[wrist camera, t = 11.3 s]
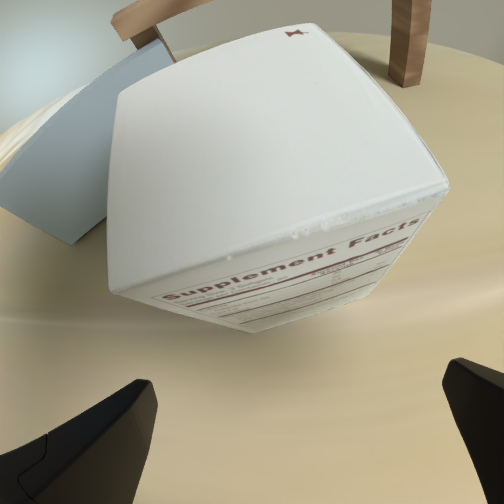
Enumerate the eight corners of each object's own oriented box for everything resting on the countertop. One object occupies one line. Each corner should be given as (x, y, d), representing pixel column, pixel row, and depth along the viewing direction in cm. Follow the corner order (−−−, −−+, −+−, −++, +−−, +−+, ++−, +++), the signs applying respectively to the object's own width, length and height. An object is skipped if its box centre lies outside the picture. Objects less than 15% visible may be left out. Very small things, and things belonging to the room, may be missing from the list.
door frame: (199, 157, 22) (110, 22, 10) (190, 128, 24) (116, 8, 11) (420, 84, 20) (433, -39, 8) (395, 62, 22) (397, -51, 9)
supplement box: (225, 229, 19) (114, 88, 8) (330, 195, 18) (318, 16, 7) (250, 337, 17) (96, 298, 5) (370, 300, 16) (464, 181, 4)
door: (205, 125, 23) (154, 34, 14) (216, 141, 22) (162, 42, 13) (68, 226, 23) (-9, 177, 14) (70, 245, 22) (-13, 197, 13)
